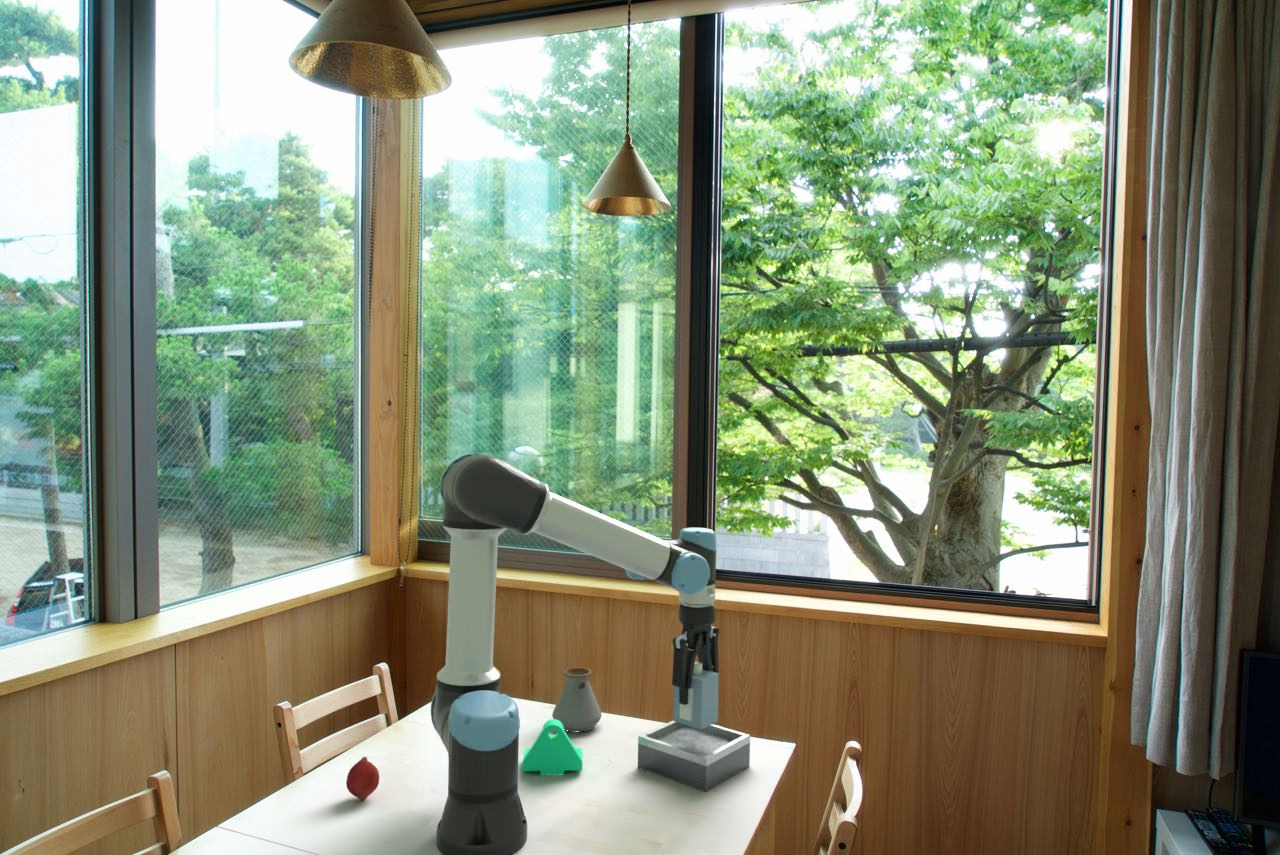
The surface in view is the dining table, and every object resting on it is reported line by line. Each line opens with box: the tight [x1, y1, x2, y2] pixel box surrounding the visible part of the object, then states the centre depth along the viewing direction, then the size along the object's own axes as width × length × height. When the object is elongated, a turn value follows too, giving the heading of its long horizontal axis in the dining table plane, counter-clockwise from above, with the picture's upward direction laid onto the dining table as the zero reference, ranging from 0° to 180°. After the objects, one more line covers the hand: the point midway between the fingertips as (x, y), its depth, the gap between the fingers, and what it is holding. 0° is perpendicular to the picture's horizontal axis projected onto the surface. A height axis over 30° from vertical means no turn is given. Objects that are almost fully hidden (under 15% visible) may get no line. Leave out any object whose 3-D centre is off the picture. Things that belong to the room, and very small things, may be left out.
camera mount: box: [521, 718, 583, 776], centre depth 170 cm, size 12×8×10 cm, turn 94°
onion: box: [345, 756, 380, 801], centre depth 154 cm, size 6×6×8 cm
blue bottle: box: [672, 661, 719, 729], centre depth 171 cm, size 6×7×12 cm
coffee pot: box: [552, 667, 602, 733], centre depth 188 cm, size 21×12×15 cm, turn 8°
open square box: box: [637, 720, 751, 793], centre depth 172 cm, size 16×17×6 cm
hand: (695, 714), depth 171 cm, fingers closed on blue bottle, 6 cm apart
